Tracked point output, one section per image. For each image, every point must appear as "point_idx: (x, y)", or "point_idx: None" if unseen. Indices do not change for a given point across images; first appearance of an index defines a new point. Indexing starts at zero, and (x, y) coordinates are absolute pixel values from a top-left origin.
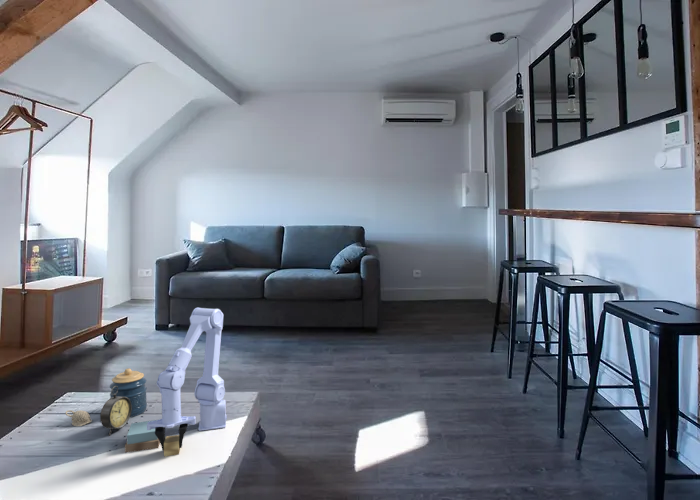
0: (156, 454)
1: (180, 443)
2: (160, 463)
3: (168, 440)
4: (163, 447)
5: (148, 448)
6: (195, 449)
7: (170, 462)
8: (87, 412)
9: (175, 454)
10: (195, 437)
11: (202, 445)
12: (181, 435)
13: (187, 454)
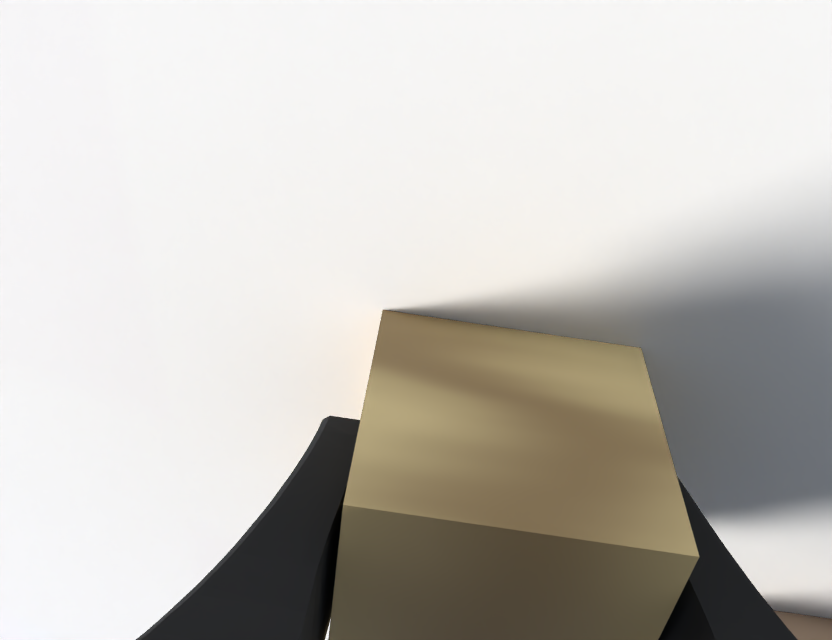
0: (748, 459)
1: (318, 474)
2: (752, 132)
3: (575, 616)
4: None
5: (829, 632)
6: (102, 348)
7: (552, 81)
8: None
9: (442, 324)
10: None
11: (7, 416)
12: (233, 627)
13: (223, 245)
